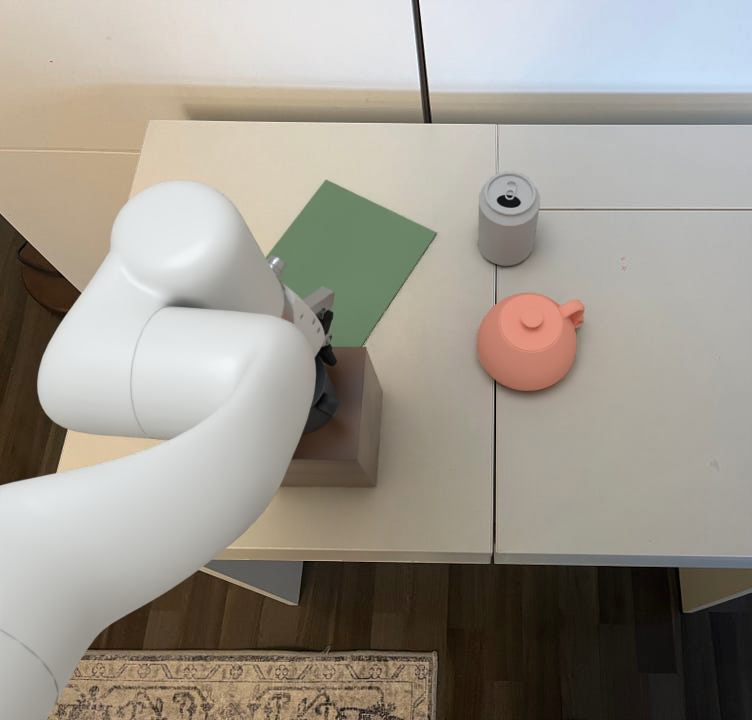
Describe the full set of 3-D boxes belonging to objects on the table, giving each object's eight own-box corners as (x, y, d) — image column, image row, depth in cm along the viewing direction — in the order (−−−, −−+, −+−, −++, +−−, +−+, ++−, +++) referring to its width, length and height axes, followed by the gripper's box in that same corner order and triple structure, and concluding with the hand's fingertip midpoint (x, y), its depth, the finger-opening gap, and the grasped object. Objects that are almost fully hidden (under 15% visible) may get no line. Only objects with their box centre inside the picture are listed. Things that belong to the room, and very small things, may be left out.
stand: (376, 487, 77) (357, 460, 64) (273, 486, 77) (233, 458, 64) (382, 390, 81) (366, 346, 68) (285, 389, 81) (250, 345, 68)
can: (473, 264, 88) (473, 212, 77) (482, 217, 91) (484, 161, 80) (528, 273, 88) (537, 222, 76) (536, 225, 90) (545, 170, 79)
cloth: (322, 405, 80) (322, 404, 80) (203, 340, 83) (202, 338, 83) (436, 234, 90) (436, 232, 89) (326, 181, 93) (325, 179, 92)
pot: (326, 457, 64) (311, 440, 58) (236, 408, 65) (213, 387, 60) (366, 394, 66) (356, 371, 60) (279, 348, 68) (260, 322, 62)
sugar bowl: (460, 330, 84) (459, 292, 75) (557, 289, 87) (568, 248, 77) (502, 412, 80) (507, 384, 71) (602, 368, 83) (619, 335, 73)
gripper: (266, 209, 52) (315, 308, 68) (120, 393, 46) (211, 453, 62) (347, 249, 50) (377, 340, 66) (207, 443, 44) (277, 491, 61)
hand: (297, 394), depth 64 cm, fingers open, 8 cm apart
